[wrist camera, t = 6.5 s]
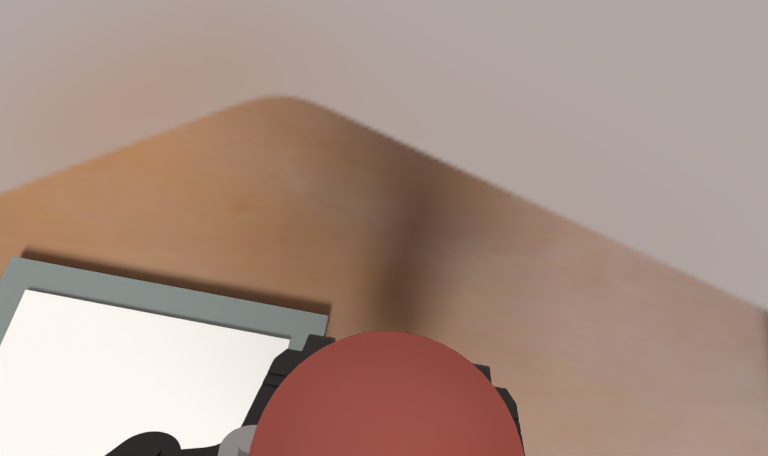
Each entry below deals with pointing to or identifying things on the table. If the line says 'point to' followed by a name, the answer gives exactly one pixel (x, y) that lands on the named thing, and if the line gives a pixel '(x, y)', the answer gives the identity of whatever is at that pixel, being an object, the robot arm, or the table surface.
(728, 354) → the table surface
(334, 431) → the marker
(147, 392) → the clipboard
